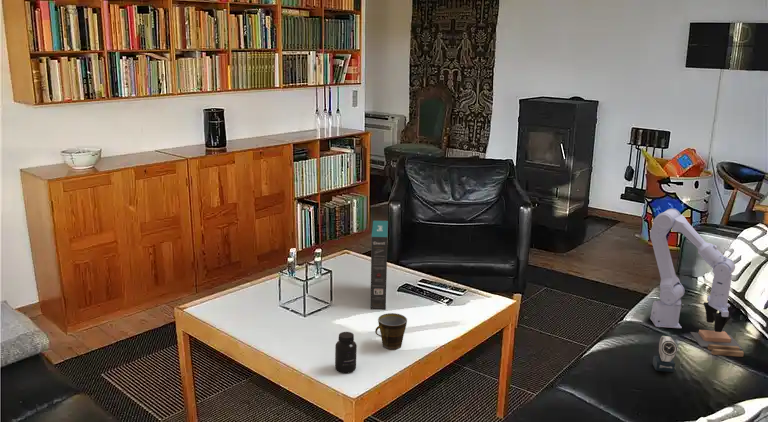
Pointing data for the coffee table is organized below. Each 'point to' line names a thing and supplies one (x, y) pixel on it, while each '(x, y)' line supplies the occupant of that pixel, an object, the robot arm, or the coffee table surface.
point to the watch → (665, 355)
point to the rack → (725, 350)
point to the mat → (705, 343)
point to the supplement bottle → (345, 353)
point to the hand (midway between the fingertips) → (713, 326)
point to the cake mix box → (379, 265)
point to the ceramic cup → (392, 330)
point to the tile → (714, 336)
